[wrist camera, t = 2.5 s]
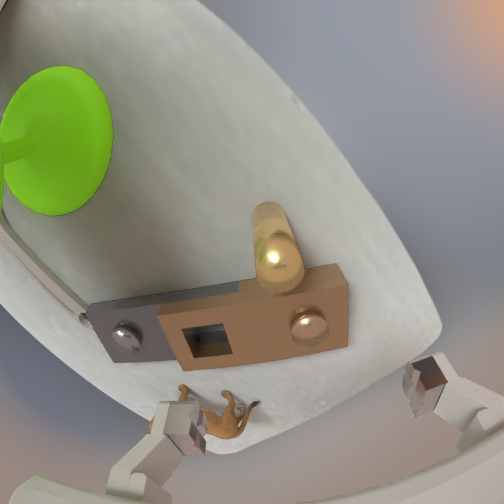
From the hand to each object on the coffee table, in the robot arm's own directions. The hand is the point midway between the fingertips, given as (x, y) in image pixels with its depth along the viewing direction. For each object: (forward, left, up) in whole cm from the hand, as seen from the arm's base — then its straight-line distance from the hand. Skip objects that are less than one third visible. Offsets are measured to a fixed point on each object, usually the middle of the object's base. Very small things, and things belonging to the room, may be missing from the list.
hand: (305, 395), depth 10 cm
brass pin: (0, 0, -19) cm, 19 cm away
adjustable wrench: (-2, -30, -20) cm, 36 cm away
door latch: (+10, -8, -19) cm, 23 cm away
